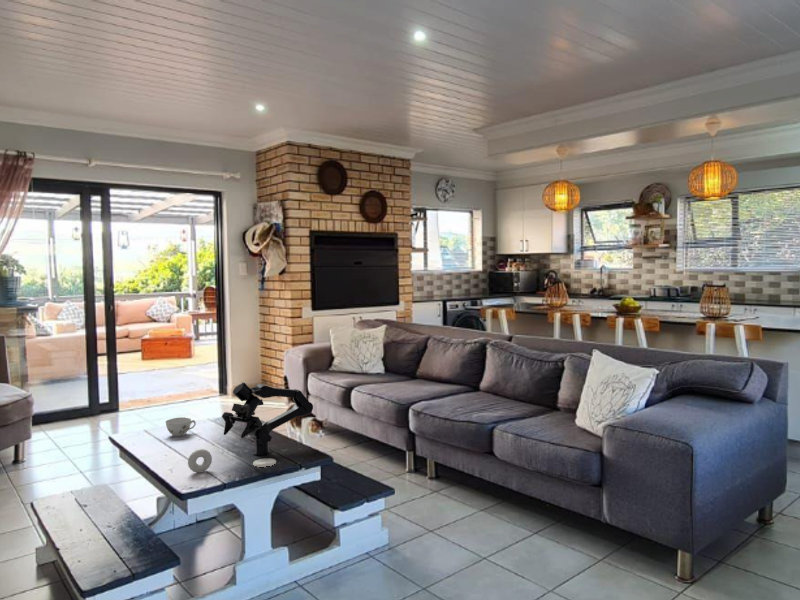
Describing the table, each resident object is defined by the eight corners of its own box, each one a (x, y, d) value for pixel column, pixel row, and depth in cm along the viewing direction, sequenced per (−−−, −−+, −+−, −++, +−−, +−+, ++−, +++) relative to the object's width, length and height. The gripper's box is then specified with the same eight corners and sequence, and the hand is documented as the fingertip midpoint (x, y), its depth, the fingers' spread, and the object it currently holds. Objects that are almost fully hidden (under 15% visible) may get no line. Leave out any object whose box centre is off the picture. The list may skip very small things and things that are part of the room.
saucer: (258, 459, 263) (258, 457, 263) (279, 460, 261) (279, 458, 261) (249, 467, 253) (249, 465, 253) (270, 468, 251) (270, 466, 251)
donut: (189, 476, 243) (188, 452, 242) (187, 473, 246) (186, 450, 245) (213, 471, 249) (212, 448, 248) (211, 468, 251) (210, 446, 251)
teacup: (168, 440, 297) (168, 424, 296) (163, 434, 307) (163, 419, 307) (198, 435, 305) (198, 420, 305) (193, 429, 315) (192, 415, 315)
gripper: (225, 394, 264) (207, 422, 254) (260, 399, 257) (243, 428, 247) (235, 409, 272) (218, 437, 261) (269, 414, 265) (253, 443, 254)
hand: (232, 436), depth 256 cm, fingers open, 9 cm apart
